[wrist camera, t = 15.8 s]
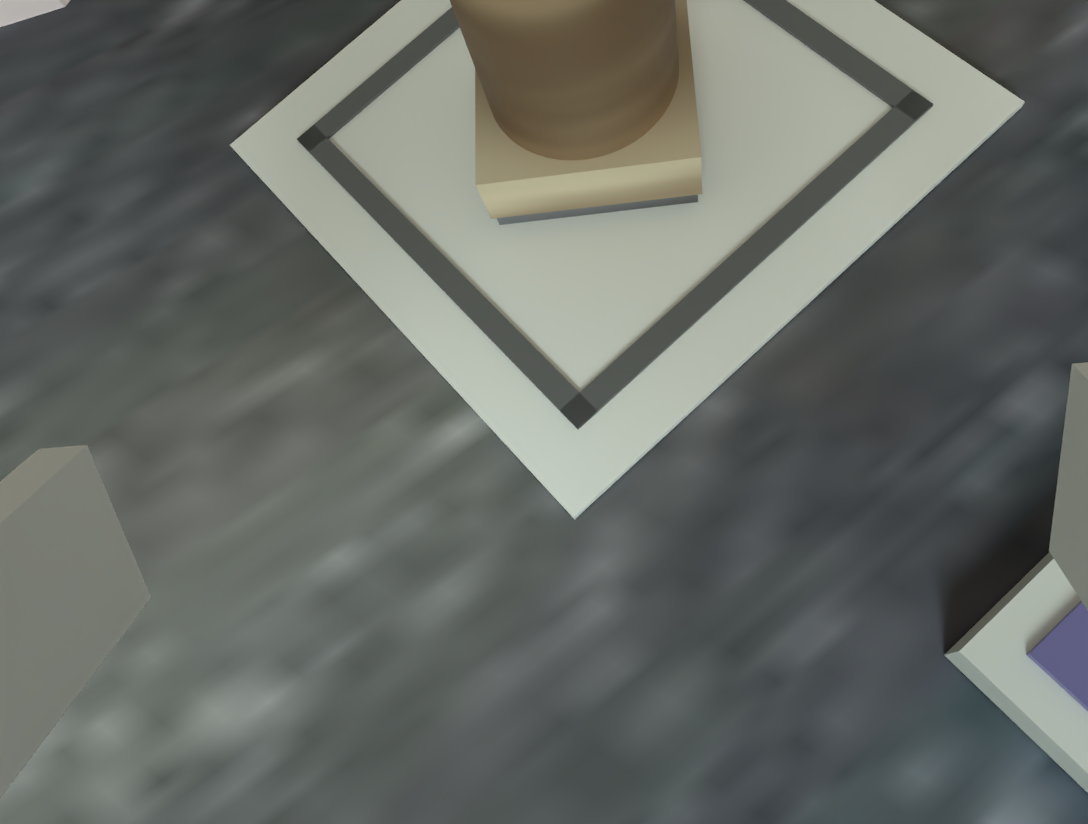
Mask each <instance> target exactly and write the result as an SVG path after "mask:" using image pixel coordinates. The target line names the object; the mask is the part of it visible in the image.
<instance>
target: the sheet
mask: <svg viewBox="0 0 1088 824" xmlns="http://www.w3.org/2000/svg"><path fill="white" fill-rule="evenodd" d="M687 10H688V20H689V31H690V42H691V53H692V63H693V74H694V85H695V96H696V106H697V117H698V128H699V138H700V149H701V165H702V194H698V202H694V203H685V204H677V205H668V206H659V207H651V208H642V209H634V210H625V211H616V212H608V213H599V214H591V215H582V216H574V217H565V218H556V219H548V220H539V221H531V222H522V223H513V224H505V225H499V222H498V220H497V218H494V219H491V218H490V216H489V213H488V211H487V209H486V207H485V205H484V203H483V200H482V198H481V196H480V194H479V192H478V190H477V187H476V185H475V66H474V64H473V61H472V58H471V56H470V53H469V50H468V48H467V45H466V42H465V40H464V37H463V35H462V32H461V29H460V27H459V24H458V21H457V19H456V16H455V13H454V11H453V8H452V5H451V3H450V0H401V1H400V2H398V3H397V4H396V5H395V6H394V7H392V8H391V9H390V10H389V11H388V12H387V13H385V14H384V15H383V16H382V17H381V18H379V19H378V20H377V21H376V22H375V23H374V24H372V25H371V26H370V27H369V28H368V29H366V30H365V31H364V32H363V33H362V34H361V35H359V36H358V37H357V38H356V39H355V40H353V41H352V42H351V43H350V44H349V45H347V46H346V47H345V48H344V49H343V50H342V51H340V52H339V53H338V54H337V55H336V56H334V57H333V58H332V59H331V60H330V61H329V62H327V63H326V64H325V65H324V66H323V67H321V68H320V69H319V70H318V71H317V72H316V73H314V74H313V75H312V76H311V77H310V78H308V79H307V80H306V81H305V82H304V83H302V84H301V85H300V86H299V87H298V88H297V89H295V90H294V91H293V92H292V93H291V94H289V95H288V96H287V97H286V98H285V99H284V100H282V101H281V102H280V103H279V104H278V105H276V106H275V107H274V108H273V109H272V110H271V111H269V112H268V113H267V114H266V115H265V116H263V117H262V118H261V119H260V120H259V121H258V122H256V123H255V124H254V125H253V126H252V127H250V128H249V129H248V130H247V131H246V132H244V133H243V134H242V135H241V136H240V137H239V138H237V139H236V140H235V141H234V142H233V143H231V144H230V146H231V147H232V148H233V149H234V150H235V152H236V153H237V154H238V155H239V156H240V157H241V158H242V159H243V160H244V161H245V162H246V163H247V165H248V166H249V167H250V168H251V169H252V170H253V171H254V172H255V173H256V174H257V175H258V176H259V178H260V179H261V180H262V181H263V182H264V183H265V184H266V185H267V186H268V187H269V188H270V189H271V191H272V192H273V193H274V194H275V195H276V196H277V197H278V198H279V199H280V200H281V201H282V202H283V204H284V205H285V206H286V207H287V208H288V209H289V210H290V211H291V212H292V213H293V214H294V216H295V217H296V218H297V219H298V220H299V221H300V222H301V223H302V224H303V225H304V226H305V227H306V229H307V230H308V231H309V232H310V233H311V234H312V235H313V236H314V237H315V238H316V239H317V240H318V242H319V243H320V244H321V245H322V246H323V247H324V248H325V249H326V250H327V251H328V252H329V253H330V255H331V256H332V257H333V258H334V259H335V260H336V261H337V262H338V263H339V264H340V265H341V266H342V268H343V269H344V270H345V271H346V272H347V273H348V274H349V275H350V276H351V277H352V278H353V279H354V281H355V282H356V283H357V284H358V285H359V286H360V287H361V288H362V289H363V290H364V291H365V293H366V294H367V295H368V296H369V297H370V298H371V299H372V300H373V301H374V302H375V303H376V304H377V306H378V307H379V308H380V309H381V310H382V311H383V312H384V313H385V314H386V315H387V316H388V317H389V319H390V320H391V321H392V322H393V323H394V324H395V325H396V326H397V327H398V328H399V329H400V330H401V332H402V333H403V334H404V335H405V336H406V337H407V338H408V339H409V340H410V341H411V342H412V343H413V345H414V346H415V347H416V348H417V349H418V350H419V351H420V352H421V353H422V354H423V355H424V356H425V358H426V359H427V360H428V361H429V362H430V363H431V364H432V365H433V366H434V367H435V368H436V370H437V371H438V372H439V373H440V374H441V375H442V376H443V377H444V378H445V379H446V380H447V381H448V383H449V384H450V385H451V386H452V387H453V388H454V389H455V390H456V391H457V392H458V393H459V394H460V396H461V397H462V398H463V399H464V400H465V401H466V402H467V403H468V404H469V405H470V406H471V407H472V409H473V410H474V411H475V412H476V413H477V414H478V415H479V416H480V417H481V418H482V419H483V420H484V422H485V423H486V424H487V425H488V426H489V427H490V428H491V429H492V430H493V431H494V432H495V433H496V435H497V436H498V437H499V438H500V439H501V440H502V441H503V442H504V443H505V444H506V445H507V446H508V448H509V449H510V450H511V451H512V452H513V453H514V454H515V455H516V456H517V457H518V458H519V460H520V461H521V462H522V463H523V464H524V465H525V466H526V467H527V468H528V469H529V470H530V471H531V473H532V474H533V475H534V476H535V477H536V478H537V479H538V480H539V481H540V482H541V483H542V484H543V486H544V487H545V488H546V489H547V490H548V491H549V492H550V493H551V494H552V495H553V496H554V497H555V499H556V500H557V501H558V502H559V503H560V504H561V505H562V506H563V507H564V508H565V509H566V510H567V512H568V513H569V514H570V515H571V516H572V517H573V518H574V519H576V518H577V517H578V516H579V515H580V514H581V513H582V512H583V511H584V510H585V509H586V508H588V507H589V506H590V505H591V504H592V503H593V502H594V501H595V500H596V499H597V498H598V497H600V496H601V495H602V494H603V493H604V492H605V491H606V490H607V489H608V488H609V487H610V486H611V485H613V484H614V483H615V482H616V481H617V480H618V479H619V478H620V477H621V476H622V475H623V474H624V473H626V472H627V471H628V470H629V469H630V468H631V467H632V466H633V465H634V464H635V463H636V462H637V461H639V460H640V459H641V458H642V457H643V456H644V455H645V454H646V453H647V452H648V451H649V450H650V449H652V448H653V447H654V446H655V445H656V444H657V443H658V442H659V441H660V440H661V439H662V438H664V437H665V436H666V435H667V434H668V433H669V432H670V431H671V430H672V429H673V428H674V427H675V426H677V425H678V424H679V423H680V422H681V421H682V420H683V419H684V418H685V417H686V416H687V415H688V414H690V413H691V412H692V411H693V410H694V409H695V408H696V407H697V406H698V405H699V404H700V403H701V402H703V401H704V400H705V399H706V398H707V397H708V396H709V395H710V394H711V393H712V392H713V391H714V390H716V389H717V388H718V387H719V386H720V385H721V384H722V383H723V382H724V381H725V380H726V379H728V378H729V377H730V376H731V375H732V374H733V373H734V372H735V371H736V370H737V369H738V368H739V367H741V366H742V365H743V364H744V363H745V362H746V361H747V360H748V359H749V358H750V357H751V356H752V355H754V354H755V353H756V352H757V351H758V350H759V349H760V348H761V347H762V346H763V345H764V344H765V343H767V342H768V341H769V340H770V339H771V338H772V337H773V336H774V335H775V334H776V333H777V332H779V331H780V330H781V329H782V328H783V327H784V326H785V325H786V324H787V323H788V322H789V321H790V320H792V319H793V318H794V317H795V316H796V315H797V314H798V313H799V312H800V311H801V310H802V309H803V308H805V307H806V306H807V305H808V304H809V303H810V302H811V301H812V300H813V299H814V298H815V297H816V296H818V295H819V294H820V293H821V292H822V291H823V290H824V289H825V288H826V287H827V286H828V285H829V284H831V283H832V282H833V281H834V280H835V279H836V278H837V277H838V276H839V275H840V274H841V273H843V272H844V271H845V270H846V269H847V268H848V267H849V266H850V265H851V264H852V263H853V262H854V261H856V260H857V259H858V258H859V257H860V256H861V255H862V254H863V253H864V252H865V251H866V250H867V249H869V248H870V247H871V246H872V245H873V244H874V243H875V242H876V241H877V240H878V239H879V238H880V237H882V236H883V235H884V234H885V233H886V232H887V231H888V230H889V229H890V228H891V227H892V226H893V225H895V224H896V223H897V222H898V221H899V220H900V219H901V218H902V217H903V216H904V215H905V214H907V213H908V212H909V211H910V210H911V209H912V208H913V207H914V206H915V205H916V204H917V203H918V202H920V201H921V200H922V199H923V198H924V197H925V196H926V195H927V194H928V193H929V192H930V191H931V190H933V189H934V188H935V187H936V186H937V185H938V184H939V183H940V182H941V181H942V180H943V179H944V178H946V177H947V176H948V175H949V174H950V173H951V172H952V171H953V170H954V169H955V168H956V167H957V166H959V165H960V164H961V163H962V162H963V161H964V160H965V159H966V158H967V157H968V156H969V155H971V154H972V153H973V152H974V151H975V150H976V149H977V148H978V147H979V146H980V145H981V144H982V143H984V142H985V141H986V140H987V139H988V138H989V137H990V136H991V135H992V134H993V133H994V132H995V131H997V130H998V129H999V128H1000V127H1001V126H1002V125H1003V124H1004V123H1005V122H1006V121H1007V120H1008V119H1010V118H1011V117H1012V116H1013V115H1014V114H1015V113H1016V112H1017V111H1018V110H1019V109H1020V108H1021V107H1022V106H1023V104H1024V101H1023V100H1021V99H1020V98H1018V97H1017V96H1015V95H1014V94H1012V93H1011V92H1009V91H1008V90H1006V89H1005V88H1003V87H1002V86H1001V85H999V84H998V83H996V82H995V81H993V80H992V79H990V78H989V77H987V76H986V75H984V74H983V73H981V72H980V71H978V70H977V69H975V68H974V67H972V66H971V65H969V64H968V63H966V62H965V61H963V60H962V59H960V58H959V57H957V56H956V55H954V54H953V53H952V52H950V51H949V50H947V49H946V48H944V47H943V46H941V45H940V44H938V43H937V42H935V41H934V40H932V39H931V38H929V37H928V36H926V35H925V34H923V33H922V32H920V31H919V30H917V29H916V28H914V27H913V26H911V25H910V24H908V23H907V22H905V21H904V20H903V19H901V18H900V17H898V16H897V15H895V14H894V13H892V12H891V11H889V10H888V9H886V8H885V7H883V6H882V5H880V4H879V3H877V2H876V1H874V0H687Z"/></svg>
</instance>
